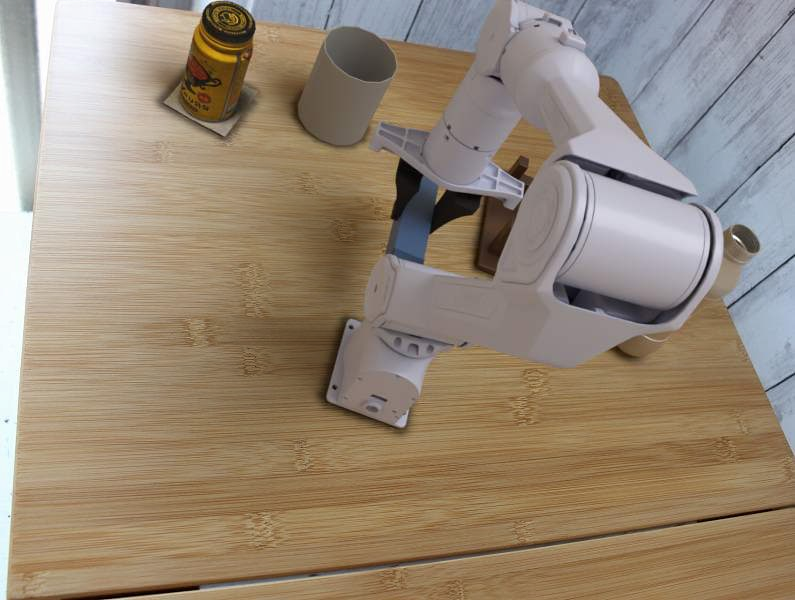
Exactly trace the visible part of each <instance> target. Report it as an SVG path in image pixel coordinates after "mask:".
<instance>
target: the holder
mask: <svg viewBox="0 0 795 600" xmlns="http://www.w3.org/2000/svg"><path fill="white" fill-rule="evenodd" d="M529 163H530V158H529V157H526V156H524V155H522V154H521V155H519V157H517V159H516V160H515V162H514V163H513V164H512V166H511V168H509V169H508V170H505V169H503V168H501V169H502V170H503V171H505V172H506V173H508V174H509V175H510V176H512V177H514V178H515V179H517V180H519V181H521V182H523V183H524V192H523V197H524V195H525V193H526V191H527V189H528V188H529V186H530V184H531V183H532V181H533V179H534V178H535V177H532V176H530V175H528V174H526V171H528V169H529ZM522 199H523V198H522ZM521 202H522V200H521V201H520V202H519V203H518V205H517V206H516V207H515V208H514V210H511V209H508V208H506V207H504V206H503V201H502V200H500V199H497V198H495V197H493V196H487V200H486V205H485V212H484V218H483V224H482V230H481V235H480V242H479V247H478V253H477V260H476V264H475V265H476V266H475V268H476V269H478V270H480V271H482V272H485V273H488V274H489V275H492V276H493V277H494V276H495V273H496V271H497V265H498V261H499V259H500V256H501V254H502V252H503V249H504V247H505V244H506V242H507V239H508V237H509V234H510V232H511V229H512V227H513V225H514V222H515V220H516V217H517V213H518V210H519V207H520V204H521Z"/></svg>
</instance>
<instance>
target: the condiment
mask: <svg viewBox="0 0 795 600" xmlns="http://www.w3.org/2000/svg"><path fill="white" fill-rule="evenodd" d="M201 14H202V15H201V18H200V20H199V23H198V24H197V25H196V26H195V29H194V31H193V34H192V35H193V36H192V39H191V43H190V47H189V51H188V56H187V61H186V65H185V67H184V72H183V77H182V80H181V81H180V83H179V84H178V85H177V86H176V87H175V89H174V90H173V91H172V92H171V93H170V94H169V95H168V97H167V98H166V99H165V100H164V101H163V102H162V103H163V104H164V105H167V106H168V107H170V108H172V109H173V110H175V111H177V112H178V113H180V114H181V115H183V116H185V117H187V118H188V119H190V120H192V121H194V122H196V123H198V124H200V125H202V126H203V127H205V128H207V129H209V130H212V131H214V132H215V133H217V134H219V135H220V136H222V137H224V138H226V136H227V135H228V133H229V132H230V131H231V129H232V128H233V127H234V126H235V124H236V122H238V120H239V119H240V118H241V116H242V115H243V114H244V112H245V111H246V109H247V108H248V107H249V105H250V104H251V103H252V101H254V99H255V97H256V96H257V95H258V93H259V91H258V90H256V89H254V88H251V87H249V86H248V85H245V84H244V82H245V78H246V75H247V72H248V69H249V65H250V62H251V59H252V56H253V54H254V53H253V52H254V35H255V34H256V30H257V27H256V24H257V23H256V20H255V19H254V17H253V15H252V14H251V13H250V11H249V10H247V9H246V8H245V7H243V6H242V5H240V4H238V3H236V2H233V1H229V0H214V1H211V2H209V3H208V4H207V5H205V7H204V8H203V10H202V13H201Z"/></svg>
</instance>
